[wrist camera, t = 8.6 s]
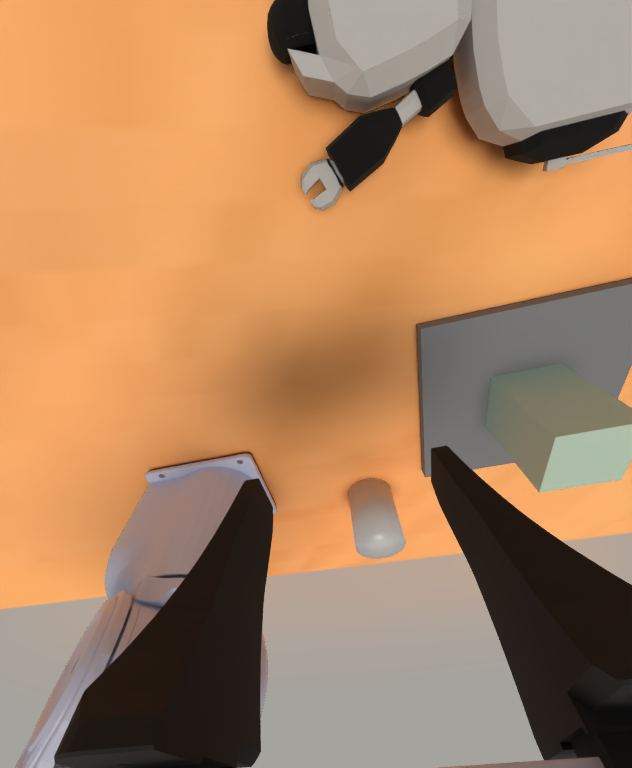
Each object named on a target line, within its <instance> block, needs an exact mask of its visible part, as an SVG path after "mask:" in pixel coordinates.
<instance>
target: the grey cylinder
mask: <svg viewBox="0 0 632 768" xmlns="http://www.w3.org/2000/svg"><path fill="white" fill-rule="evenodd" d="M348 496H349V503H350V510H351V517H352V524H353V532H354V539H355V546H356V550H357V552H358V553H359V554H360V555H362V556H364V557H368V558H386V557H390V556H393V555H395V554H397V553H399V552H400V551H401V550H402V549H403V548H404V547H405V544H406V541H405V538H404V534H403V531H402V527H401V524H400V520H399V517H398V514H397V510H396V507H395V503H394V500H393V496H392V493H391V490H390V487H389V485H388V484H387V483H386V482H385V481H383V480H380V479H375V478H369V479H364V480H360V481H358V482H356V483H355V484H353V485H352V486H351V488H350V489H349V492H348Z"/></svg>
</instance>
